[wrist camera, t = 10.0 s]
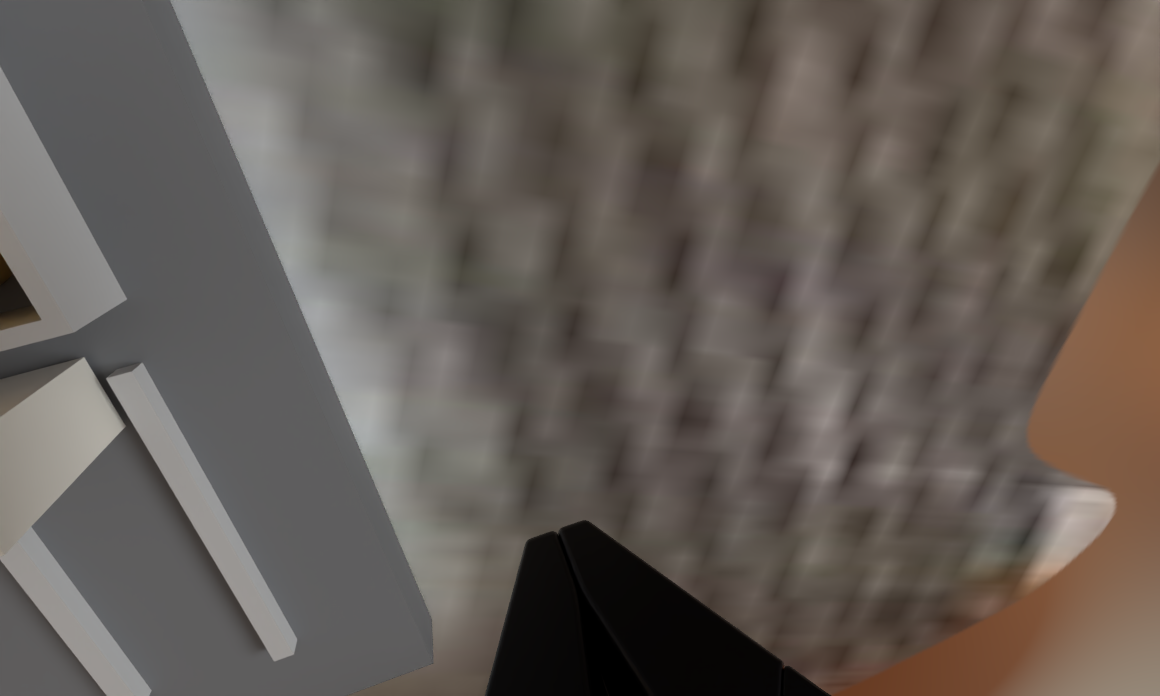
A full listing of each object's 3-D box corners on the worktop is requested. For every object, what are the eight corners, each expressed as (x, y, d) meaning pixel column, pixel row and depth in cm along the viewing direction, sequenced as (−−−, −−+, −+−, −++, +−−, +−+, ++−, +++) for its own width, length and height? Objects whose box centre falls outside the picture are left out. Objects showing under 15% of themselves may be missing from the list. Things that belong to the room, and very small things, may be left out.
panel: (432, 619, 23) (435, 730, 18) (92, 741, 21) (13, 894, 17) (21, -351, 12) (-185, -598, 8) (-763, -278, 10) (-1578, -553, 6)
